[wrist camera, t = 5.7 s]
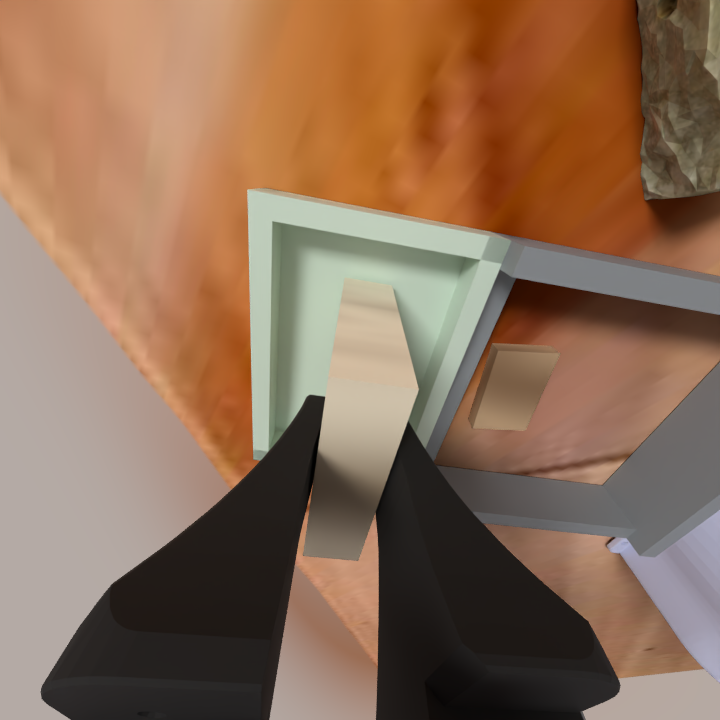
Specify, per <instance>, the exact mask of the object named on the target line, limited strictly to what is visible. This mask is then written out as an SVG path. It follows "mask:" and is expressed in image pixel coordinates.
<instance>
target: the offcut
mask: <svg viewBox="0 0 720 720" xmlns="http://www.w3.org/2000/svg"><path fill="white" fill-rule="evenodd" d="M560 354H561V353H559V352H558V351H557V350H556V349H555V348H554V347H552V346H543V345H521V344H499V343H492V345H491V348H490V352H489V355H488V358H487V361H486V364H485V367H484V370H483V374H482V377H481V380H480V383H479V386H478V389H477V392H476V396H475V399H474V402H473V405H472V408H471V411H470V415H469V418H468V419H469V422H470V424H471V426H472V428H473V429H497V430H523V431H525V430H526V428H527V426H528V424H529V422H530V419H531V417H532V415H533V413H534V411H535V409H536V406H537V404H538V402H539V400H540V398H541V395H542V393H543V391H544V389H545V387H546V384H547V382H548V380H549V378H550V376H551V373H552V371H553V369H554V367H555V365H556V362H557V360H558V358H559V356H560Z"/></svg>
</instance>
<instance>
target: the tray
mask: <svg viewBox="0 0 720 720" xmlns="http://www.w3.org/2000/svg"><path fill="white" fill-rule="evenodd" d="M248 232H249V278H250V324H251V369H252V415H253V460H262V458H263V457H264V456H265V455H266V454H267V453H268V451H269V450H270V449H271V448H272V447H273V446H274V444H275V443H276V442H277V441H278V440H279V438H280V437H281V436H282V434H283V433H284V432H285V430H286V429H287V428H288V426H289V425H290V424H291V422H292V421H293V419H294V418H295V416H296V415H297V413H298V412H299V410H300V408H301V407H302V405H303V403H304V401H305V399H306V397H307V396H308V395H317V396H326V389H327V382H328V375H329V369H330V363H331V357H332V351H333V345H334V339H335V333H336V327H337V321H338V315H339V309H340V303H341V297H342V291H343V285H344V279H345V277H346V278H352V279H358V280H364V281H369V282H375V283H381V284H387V285H392V287H393V291H394V295H395V299H396V303H397V307H398V310H399V314H400V318H401V322H402V326H403V330H404V334H405V338H406V341H407V345H408V349H409V353H410V357H411V361H412V365H413V369H414V372H415V376H416V380H417V384H418V388H419V391H418V394H417V396H416V399H415V402H414V405H413V408H412V411H411V413H410V416H409V419H408V421H409V423H410V424H411V426H412V428H413V430H414V431H415V433H416V435H417V436H418V438H419V440H420V441H421V443H422V445H423V446H424V448H426V446H427V444H428V441H429V439H430V436H431V434H432V431H433V429H434V427H435V424H436V422H437V419H438V417H439V415H440V412H441V410H442V407H443V405H444V402H445V400H446V398H447V395H448V393H449V390H450V388H451V386H452V383H453V381H454V378H455V376H456V373H457V371H458V369H459V366H460V364H461V361H462V359H463V357H464V354H465V352H466V349H467V347H468V344H469V342H470V340H471V337H472V335H473V332H474V330H475V327H476V325H477V323H478V320H479V318H480V315H481V313H482V311H483V308H484V306H485V303H486V301H487V298H488V296H489V294H490V291H491V289H492V286H493V284H494V282H495V279H496V277H497V274H498V272H499V269H500V267H501V265H502V262H503V260H504V257H505V255H506V253H507V250H508V248H509V245H510V243H511V240H509V239H507V238H504V237H502V236H499V235H497V234H495V233H492V232H489V231H484V230H479V229H474V228H469V227H464V226H458V225H453V224H448V223H443V222H438V221H433V220H428V219H422V218H417V217H412V216H407V215H402V214H397V213H392V212H386V211H381V210H376V209H371V208H366V207H361V206H356V205H350V204H345V203H340V202H335V201H330V200H325V199H320V198H314V197H309V196H304V195H299V194H294V193H289V192H284V191H278V190H273V189H268V188H258V189H248Z"/></svg>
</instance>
